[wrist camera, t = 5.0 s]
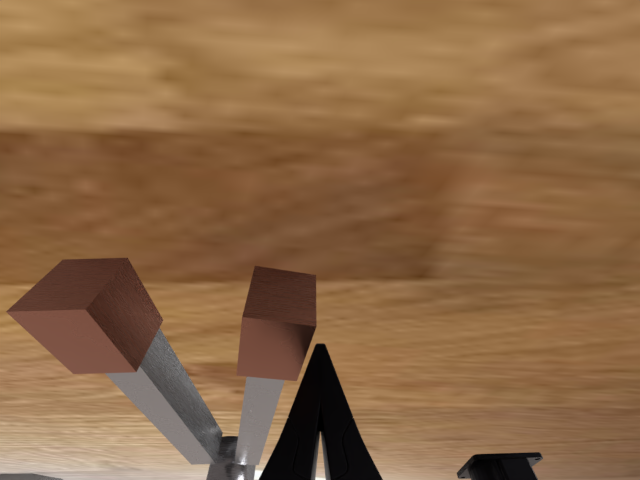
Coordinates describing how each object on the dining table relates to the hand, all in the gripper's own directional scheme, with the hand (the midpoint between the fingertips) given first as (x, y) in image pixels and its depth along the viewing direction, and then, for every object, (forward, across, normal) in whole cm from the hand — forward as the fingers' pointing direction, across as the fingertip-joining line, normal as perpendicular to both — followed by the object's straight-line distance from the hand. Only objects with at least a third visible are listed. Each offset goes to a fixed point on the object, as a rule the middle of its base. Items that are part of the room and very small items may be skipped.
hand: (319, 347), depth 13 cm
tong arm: (+1, +5, +7) cm, 8 cm away
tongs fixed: (+1, +8, +9) cm, 12 cm away
